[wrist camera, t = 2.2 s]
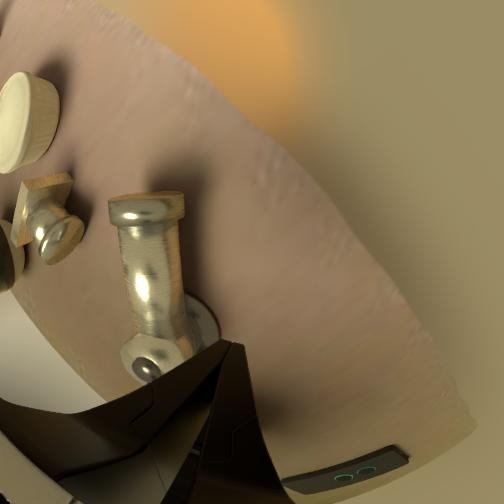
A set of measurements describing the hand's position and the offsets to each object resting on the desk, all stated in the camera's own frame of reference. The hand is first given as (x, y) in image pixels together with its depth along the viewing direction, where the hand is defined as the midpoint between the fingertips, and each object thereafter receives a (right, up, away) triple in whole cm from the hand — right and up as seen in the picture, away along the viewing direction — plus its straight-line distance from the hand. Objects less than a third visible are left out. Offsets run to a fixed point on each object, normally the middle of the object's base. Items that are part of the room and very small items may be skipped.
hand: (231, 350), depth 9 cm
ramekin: (-24, +19, +12) cm, 32 cm away
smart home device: (+15, -31, +21) cm, 41 cm away
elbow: (-6, +1, +13) cm, 15 cm away
